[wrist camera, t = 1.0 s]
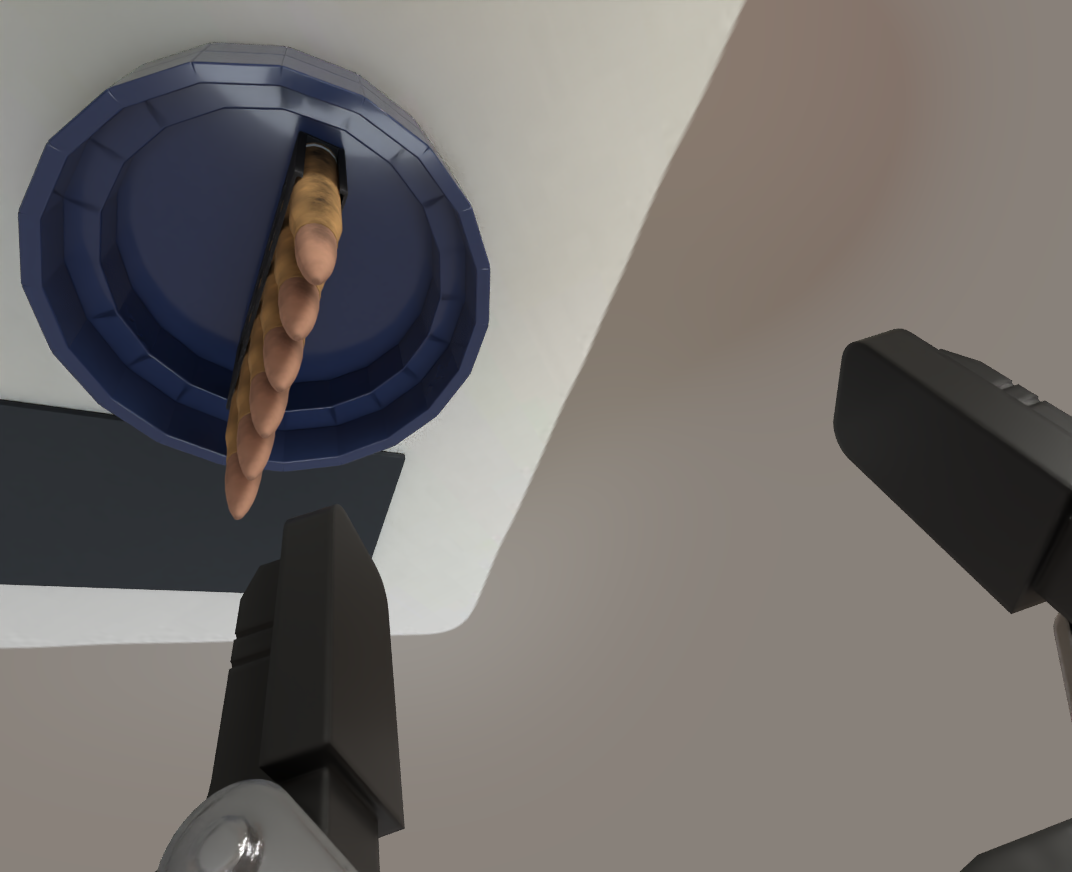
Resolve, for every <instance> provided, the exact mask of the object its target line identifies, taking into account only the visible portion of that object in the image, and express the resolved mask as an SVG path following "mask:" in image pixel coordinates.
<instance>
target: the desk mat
mask: <svg viewBox="0 0 1072 872" xmlns="http://www.w3.org/2000/svg"><path fill="white" fill-rule="evenodd" d="M404 461H405V455H404V454H397V453H389V452H382V451H380V452H377V453H374V454H371V455H369V456H366V457H363V458H360V459H358V460H355V461H352V462H350V463H347V464H344V465H342V464H341V465H340V466H332V467H323V468H314V469H305V470H297V471H288V472H284V471H283V472H279V471H270V470H263V471H262V477H261V481H260V485H259V488H258V492H257V495H256V497H255V500H254V502H253V504H252V506H251V507H250V509H249V511H248V512H247V513H246V514H245V515H244V517H243V518H241V519H240V520H236V519H234V517H233V516H232V514H231V513H230V510H229V508H228V504H227V499H226V494H225V472H226V465H222V464H217V463H214V462H211V461H208V460H205V459H203V458H200V457H197V456H194V455H191V454H188V453H185V452H183V451H180V450H177V449H174V448H171V447H168V446H166V445H163V444H160V443H159V442H156V441H154V440H153V439H151V438H150V437H148V436H147V435H145V434H144V433H142V432H140V431H139V430H137V429H136V428H134V427H133V426H131V425H130V424H128V423H127V422H125V421H123V420H122V419H120V418H119V417H117V416H116V415H108V414H101V413H94V412H86V411H79V410H71V409H64V408H57V407H49V406H42V405H34V404H27V403H20V402H12V401H5V400H0V584H6V585H35V586H63V587H92V588H120V589H149V590H177V591H206V592H234V593H244V592H245V591H246V589H247V587H248V585H249V584H250V582H251V580H252V578H253V577H254V575H255V573H256V571H257V570H258V568H259V566H261V565H264V564H267V563H270V562H273V561H276V560H280V557H281V547H282V538H283V529H284V524H285V522H286V521H287V520H288V519H291V518H294V517H297V516H300V515H303V514H307V513H310V512H313V511H316V510H319V509H322V508H326V507H329V506H332V505H335V504H339V505H340V506H341V507H342V508H343V509H344V510H345V512H346V514H347V515H348V517H349V519H350V521H351V522H352V524H353V526H354V528H355V530H356V531H357V533H358V535H359V537H360V539H361V540H362V542H363V544H364V546H365V548H366V549H367V551H368V553H369V555H370V557H371V558H372V555H373V553H374V550H375V547H376V544H377V541H378V538H379V535H380V532H381V529H382V526H383V523H384V520H385V517H386V514H387V511H388V508H389V505H390V502H391V499H392V496H393V493H394V491H395V488H396V485H397V482H398V479H399V476H400V473H401V470H402V467H403V464H404Z"/></svg>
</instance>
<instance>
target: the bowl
mask: <svg viewBox="0 0 1072 872" xmlns="http://www.w3.org/2000/svg"><path fill="white" fill-rule="evenodd" d="M300 131H303V132H305V133H308V134H310V135H312V136H314V137H317V138H319V139H321V140H323V141H326V142H328V143H330V144H333V145H335V146H337V147H339V148H342V149H344V151H345V157H346V172H347V186H348V196H347V199H346V202H345V205H344V208H343V211H342V233H341V236H340V239H339V241H338V248H337V259H336V263H335V266H334V269H333V272H332V274H331V275H330V277H329V278H328V279H327V281H326V282H325V284H324V287H323V289H322V291H321V298H320V301H319V312H318V316H317V319H316V322H315V325H314V327H313V329H312V330H311V332H310V333H309V335H308V336H307V337H306V338H305V345H304V348H303V358H302V362H301V366H300V369H299V372H298V374H297V377H296V379H295V380H294V382H293V383H292V385H291V386H290V389H289V394H288V402H287V406H286V409H285V413H284V416H283V418H282V421H281V423H280V424H279V426H278V428H277V429H276V431H275V438H274V443H273V447H272V450H271V454H270V457H269V459H268V462H267V464H266V466H265V467H264V469H263V470H270V471H279V472H283V471H284V472H288V471H297V470H305V469H314V468H323V467H332V466H340V465H341V464H342V465H344V464H347V463H350V462H352V461H355V460H358V459H360V458H363V457H366V456H369V455H371V454H374V453H377V452H380V451H382V450H385V449H388V448H390V447H393V446H395V445H397V444H398V443H399V442H401V441H402V440H404V439H405V438H406V437H408V436H409V435H411V434H412V433H414V432H415V431H416V430H418V429H419V428H421V427H422V426H424V425H425V424H426V423H428V422H429V421H431V420H432V419H434V418H435V417H436V416H437V415H438V414H439V413H440V412H441V410H442V409H443V408H444V407H445V405H446V404H447V403H448V402H449V400H450V399H451V398H452V397H453V395H454V394H455V393H456V392H457V390H458V389H459V388H460V387H461V385H462V384H463V383H464V381H465V380H466V379H467V378H468V376H469V375H470V374H471V371H472V368H473V366H474V363H475V360H476V358H477V355H478V352H479V350H480V347H481V344H482V341H483V339H484V336H485V333H486V331H487V328H488V323H489V298H490V264H489V261H488V257H487V254H486V251H485V248H484V244H483V241H482V238H481V235H480V231H479V228H478V225H477V222H476V218H475V215H474V212H473V209H472V206H471V204H470V202H469V201H468V199H467V197H466V196H465V194H464V192H463V191H462V189H461V187H460V186H459V184H458V182H457V181H456V179H455V177H454V176H453V174H452V172H451V171H450V169H449V167H448V166H447V165H446V163H445V162H444V160H443V159H442V157H441V156H440V155H439V153H438V152H437V150H436V149H435V147H434V146H433V145H432V143H431V142H430V140H429V139H428V137H427V136H426V135H425V133H424V132H423V130H422V129H421V127H420V126H419V124H418V123H417V122H416V120H415V119H413V117H412V116H411V115H410V114H408V113H407V112H406V111H405V110H403V109H402V108H401V107H399V106H398V105H397V104H396V103H394V102H393V101H392V100H391V99H389V98H388V97H387V96H386V95H384V94H383V93H382V92H380V91H379V90H378V89H377V88H375V87H374V86H373V85H372V84H370V83H369V82H368V81H367V80H365V79H364V78H363V77H361V76H360V75H357V73H355V72H353V71H350V70H347V69H345V68H342V67H340V66H337V65H335V64H332V63H329V62H327V61H324V60H322V59H319V58H317V57H314V56H311V55H309V54H306V53H304V52H301V51H299V50H296V49H293V48H291V47H285V46H274V45H254V44H234V43H212V44H211V43H207V44H204V45H201V46H198V47H195V48H192V49H189V50H186V51H182V52H179V53H176V54H173V55H170V56H167V57H164V58H161V59H158V60H155V61H151V62H148V63H145V64H143V65H141V66H139V67H138V68H136V69H135V70H133V71H132V72H131V73H129V74H128V75H126V76H125V77H123V78H122V79H120V80H119V81H117V82H116V83H114V84H113V85H111V86H110V87H109V88H107V89H106V90H105V91H103V92H102V93H101V94H100V95H99V96H98V97H97V98H96V99H94V100H93V101H92V102H91V103H90V104H89V105H88V106H86V107H85V108H84V109H83V110H82V111H81V112H80V113H79V114H77V115H76V116H75V117H74V118H73V119H72V120H71V121H70V122H68V123H67V124H66V125H65V126H64V127H63V128H62V129H60V130H59V131H58V132H57V133H56V134H55V135H54V136H53V137H51V138H50V139H49V140H48V142H47V143H46V145H45V147H44V150H43V152H42V155H41V157H40V159H39V162H38V164H37V167H36V169H35V172H34V174H33V176H32V179H31V181H30V184H29V186H28V188H27V191H26V193H25V196H24V198H23V200H22V203H21V205H20V208H19V212H18V226H19V248H20V271H21V284H22V287H23V289H24V292H25V294H26V296H27V298H28V301H29V303H30V305H31V307H32V310H33V312H34V314H35V316H36V318H37V321H38V323H39V325H40V327H41V330H42V332H43V334H44V336H45V338H46V341H47V343H48V345H49V347H50V350H51V351H52V353H53V354H54V355H55V356H56V358H57V359H58V360H59V361H60V362H61V363H62V364H63V365H64V366H65V368H66V369H67V370H68V371H69V372H70V373H71V374H72V375H73V376H74V378H75V379H76V380H77V381H78V382H79V383H80V384H81V385H82V386H83V388H84V389H85V390H86V391H87V392H88V393H89V394H90V395H91V396H92V397H93V399H94V400H95V401H96V402H97V403H98V404H99V405H101V406H102V407H103V408H105V409H106V410H108V411H110V412H111V413H113V414H114V415H116V416H117V417H119V418H120V419H122V420H123V421H125V422H127V423H128V424H130V425H131V426H133V427H134V428H136V429H137V430H139V431H140V432H142V433H144V434H145V435H147V436H148V437H150V438H151V439H153V440H154V441H156V442H159V443H160V444H163V445H166V446H168V447H171V448H174V449H177V450H180V451H183V452H185V453H188V454H191V455H194V456H197V457H200V458H203V459H205V460H208V461H211V462H214V463H217V464H222V465H227V464H226V457H227V445H226V439H225V434H226V428H227V423H228V417H229V411H230V410H227V409H226V405H227V400H228V394H229V389H230V384H231V379H232V374H233V368H234V363H235V358H236V353H237V348H238V345H239V341H240V338H241V334H242V331H243V327H244V324H245V320H246V316H247V313H248V309H249V306H250V302H251V299H252V295H253V292H254V288H255V285H256V281H257V278H258V274H259V270H260V267H261V263H262V260H263V256H264V253H265V249H266V246H267V242H268V239H269V235H270V232H271V228H272V224H273V221H274V217H275V214H276V210H277V207H278V203H279V200H280V196H281V193H282V189H283V186H284V182H285V178H286V175H287V171H288V168H289V164H290V161H291V157H292V154H293V150H294V147H295V143H296V140H297V136H298V132H300Z"/></svg>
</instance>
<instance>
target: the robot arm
mask: <svg viewBox="0 0 1072 872" xmlns="http://www.w3.org/2000/svg"><path fill="white" fill-rule="evenodd" d="M833 424H834V432H835V436H836V439H837V442H838V444H839V446H840V448H841V449H842V451H843V453H844V454H845V455H846V456H847V457H848V458H849V460H851V461H852V462H853V463H854V464H855V465H856V466H857V467H858V468H859V469H860V470H861V471H862V472H863V473H864V474H865V475H866V476H867V477H868V478H869V479H871V480H872V481H873V482H874V483H875V484H876V485H877V486H878V487H879V488H880V489H881V490H882V491H883V492H884V493H885V494H886V495H887V496H888V497H889V498H890V499H891V500H892V501H893V502H894V503H896V504H897V505H898V506H899V507H900V508H901V509H902V510H903V511H904V512H905V513H906V514H907V515H908V516H909V517H910V518H911V519H912V520H913V521H914V522H915V523H916V524H918V525H919V526H920V527H921V528H922V529H923V530H924V531H925V532H926V533H927V534H928V535H929V536H930V537H931V538H932V539H933V540H934V541H935V542H936V543H937V544H938V545H939V546H941V547H942V548H943V549H944V550H945V551H946V552H947V553H948V554H949V555H950V556H951V557H952V558H953V559H954V560H955V561H956V562H957V563H958V564H959V565H961V567H963V568H964V569H965V570H966V571H967V572H968V573H969V574H970V575H971V576H972V577H973V578H974V579H975V580H976V581H977V582H978V583H979V584H980V585H981V586H982V587H983V588H984V589H986V590H987V591H988V592H989V593H990V594H991V595H992V596H993V597H994V598H995V599H996V600H997V601H998V602H999V603H1000V604H1001V605H1002V606H1004V608H1005V609H1006V610H1007V611H1009V612H1010V613H1011V614H1012V613H1015V612H1018V611H1021V610H1024V609H1026V608H1029V607H1032V606H1035V605H1038V604H1040V603H1043V602H1046V601H1047V602H1048V603H1049V604H1050V605H1051V606H1052V607H1053V608H1054V609H1056V610H1057V611H1058V612H1059V613H1058V615H1057V617H1056V618H1055V621H1054V635H1055V640H1056V645H1057V650H1058V655H1059V660H1060V665H1061V670H1062V675H1063V680H1064V685H1065V690H1066V695H1067V700H1068V705H1069V710H1070V715H1071V720H1072V417H1071V416H1070V415H1068V414H1066V413H1065V412H1063V411H1061V410H1059V409H1058V408H1057V407H1055V406H1053V405H1052V404H1050V403H1048V402H1047V401H1043V402H1040V401H1039V400H1038V396H1037V395H1035V394H1033V393H1031V392H1030V391H1028V390H1027V389H1025V388H1024V387H1022V386H1020V385H1019V384H1018V385H1015V386H1014V385H1013V384H1012V380H1010V379H1009V378H1007V377H1005V376H1004V375H1002V374H1000V373H999V372H997V371H996V370H994V369H992V368H991V367H989V366H987V365H986V364H984V363H982V362H980V361H978V360H974V359H971V358H968V357H965V356H962V355H959V354H955V353H952V352H949V351H946V350H943V349H940V350H938V349H936V348H935V347H933V346H932V345H930V344H928V343H927V342H925V341H924V340H922V339H920V338H919V337H917V336H916V335H914V334H912V333H911V332H909V331H907V330H904V329H893V330H890V331H887V332H884V333H881V334H878V335H875V336H871V337H868V338H865V339H862V340H859V341H856V342H852V343H850V344H849V345H848V346H847V347H846V348H845V350H844V352H843V355H842V361H841V368H840V376H839V383H838V390H837V398H836V406H835V413H834V421H833ZM235 634H236V637H237V639H236V640H234V643H233V650H232V656H231V661H230V662H231V663H232V668H231V669H230V670H229V674H228V681H227V687H226V693H225V699H224V705H223V711H222V718H221V724H220V730H219V737H218V743H217V749H216V755H215V761H214V767H213V774H212V780H211V784H210V789H209V793H208V796H207V799H206V800H205V801H204V802H202V803H201V804H200V805H199V806H198V807H197V808H196V809H195V810H194V811H193V812H192V813H191V814H190V815H189V816H188V817H187V819H186V820H185V821H184V822H183V823H182V825H181V826H180V827H179V829H178V830H177V831H176V833H175V834H174V836H173V837H172V839H171V841H170V843H169V844H168V846H167V848H166V850H165V852H164V854H163V857H162V859H161V861H160V864H159V867H158V870H157V871H156V872H380V866H379V842H378V838H380V837H382V836H385V835H388V834H391V833H393V832H396V831H399V830H402V829H404V828H405V827H404V814H403V800H402V787H401V773H400V760H399V748H398V733H397V720H396V706H395V693H394V679H393V666H392V653H391V639H390V625H389V612H388V603H387V597H386V593H385V589H384V585H383V582H382V579H381V577H380V574H379V572H378V570H377V568H376V566H375V564H374V562H373V560H372V558H371V557H370V555H369V553H368V551H367V549H366V548H365V546H364V544H363V542H362V540H361V539H360V537H359V535H358V533H357V531H356V530H355V528H354V526H353V524H352V522H351V521H350V519H349V517H348V515H347V514H346V512H345V510H344V509H343V508H342V507H341V506H340V505H339V504H335V505H332V506H329V507H326V508H322V509H319V510H316V511H313V512H310V513H307V514H303V515H300V516H297V517H294V518H291V519H288V520H287V521H286V522H285V524H284V529H283V538H282V547H281V557H280V560H276V561H273V562H270V563H267V564H264V565H261V566H259V568H258V570H257V571H256V573H255V575H254V577H253V578H252V580H251V582H250V584H249V585H248V587H247V589H246V591H245V592H244V594H243V596H242V598H241V599H240V606H239V612H238V618H237V624H236V630H235ZM960 872H1072V818H1071V819H1069V820H1066V821H1063V822H1061V823H1058V824H1056V825H1053V826H1051V827H1048V828H1046V829H1043V830H1040V831H1038V832H1036V833H1033V834H1030V835H1028V836H1025V837H1023V838H1020V839H1017V840H1015V841H1012V842H1010V843H1007V844H1004V845H1002V846H999V847H997V848H994V849H992V850H989V851H987V852H984V853H981V854H979V855H977V856H976V857H975V858H974V859H973V860H972V861H971V862H970V863H969V864H968V865H966V866H965V867H964V868H963V869H962V870H961V871H960Z"/></svg>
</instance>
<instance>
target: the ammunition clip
mask: <svg viewBox="0 0 1072 872" xmlns="http://www.w3.org/2000/svg"><path fill="white" fill-rule="evenodd" d="M347 196H348V186H347V172H346V157H345V151H344V149H342V148H339V147H337V146H335V145H333V144H330V143H328V142H326V141H323V140H321V139H319V138H317V137H314V136H312V135H310V134H308V133H305V132H303V131H300V132H298V136H297V140H296V143H295V147H294V150H293V154H292V157H291V161H290V164H289V168H288V171H287V175H286V178H285V182H284V186H283V189H282V193H281V196H280V200H279V203H278V207H277V210H276V214H275V217H274V221H273V224H272V228H271V232H270V235H269V239H268V242H267V246H266V249H265V253H264V256H263V260H262V263H261V267H260V270H259V274H258V278H257V281H256V285H255V288H254V292H253V295H252V299H251V302H250V306H249V309H248V313H247V316H246V320H245V324H244V327H243V331H242V334H241V338H240V341H239V345H238V348H237V353H236V358H235V363H234V368H233V374H232V379H231V384H230V389H229V394H228V400H227V405H226V409H227V410H230V411H229V417H228V423H227V428H226V434H225V439H226V445H227V457H226V464H227V465H226V472H225V494H226V499H227V504H228V508H229V510H230V513H231V514H232V516H233V517H234V519H236V520H240V519H241V518H243V517H244V515H245V514H246V513H247V512H248V511H249V509H250V507H251V506H252V504H253V502H254V500H255V497H256V495H257V492H258V488H259V485H260V481H261V477H262V471H263V469H264V467H265V466H266V464H267V462H268V459H269V457H270V454H271V450H272V447H273V443H274V438H275V431H276V429H277V428H278V426H279V424H280V423H281V421H282V418H283V416H284V413H285V409H286V406H287V402H288V394H289V389H290V386H291V385H292V383H293V382H294V380H295V379H296V377H297V374H298V372H299V369H300V366H301V362H302V358H303V348H304V345H305V338H306V337H307V336H308V335H309V333H310V332H311V330H312V329H313V327H314V325H315V322H316V319H317V316H318V312H319V301H320V298H321V291H322V289H323V287H324V284H325V282H326V281H327V279H328V278H329V277H330V275H331V274H332V272H333V269H334V266H335V263H336V259H337V248H338V241H339V239H340V236H341V233H342V211H343V208H344V205H345V202H346V199H347Z"/></svg>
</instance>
